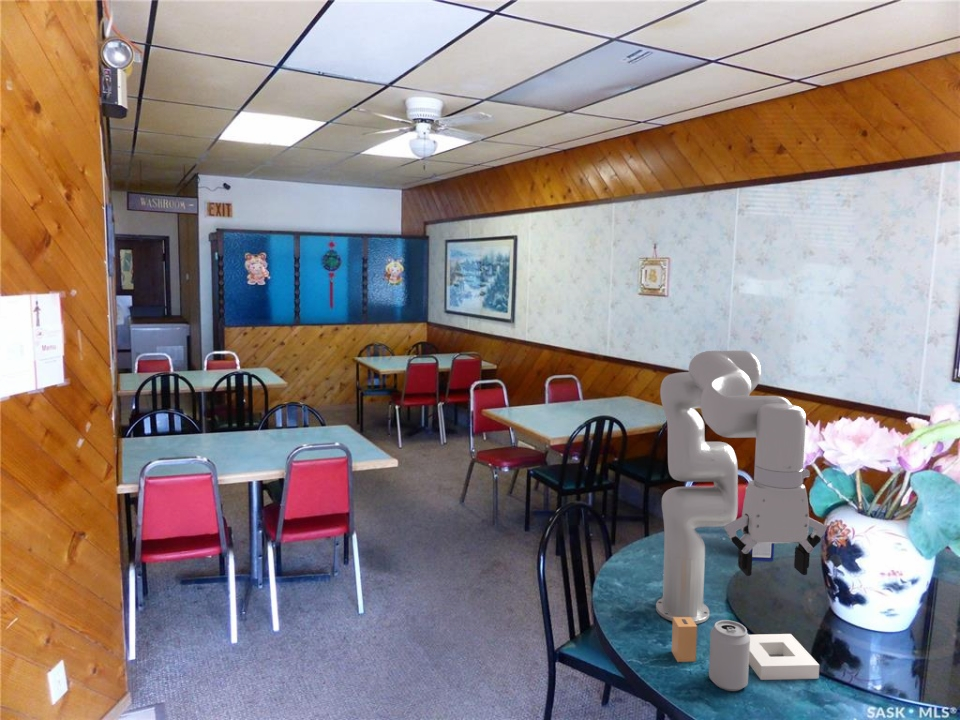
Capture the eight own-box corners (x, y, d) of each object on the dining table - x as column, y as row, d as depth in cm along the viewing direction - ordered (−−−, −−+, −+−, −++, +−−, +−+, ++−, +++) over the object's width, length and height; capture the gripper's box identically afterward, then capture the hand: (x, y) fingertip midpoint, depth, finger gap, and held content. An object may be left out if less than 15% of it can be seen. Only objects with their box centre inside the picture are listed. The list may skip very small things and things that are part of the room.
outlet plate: (736, 647, 149) (737, 634, 148) (790, 646, 149) (790, 633, 149) (760, 679, 137) (761, 666, 136) (818, 678, 137) (819, 665, 137)
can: (738, 671, 140) (741, 617, 138) (754, 693, 132) (757, 636, 131) (703, 671, 140) (705, 617, 138) (717, 694, 132) (719, 637, 131)
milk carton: (742, 550, 201) (745, 486, 198) (765, 551, 200) (768, 487, 198) (749, 560, 194) (752, 494, 191) (773, 561, 193) (777, 494, 191)
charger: (671, 651, 147) (672, 616, 146) (689, 651, 147) (690, 616, 146) (677, 661, 143) (678, 626, 142) (695, 661, 143) (697, 625, 142)
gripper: (816, 469, 118) (810, 562, 120) (719, 470, 117) (715, 563, 119) (840, 482, 110) (833, 581, 112) (736, 484, 110) (732, 582, 112)
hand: (772, 572), depth 116 cm, fingers open, 9 cm apart
